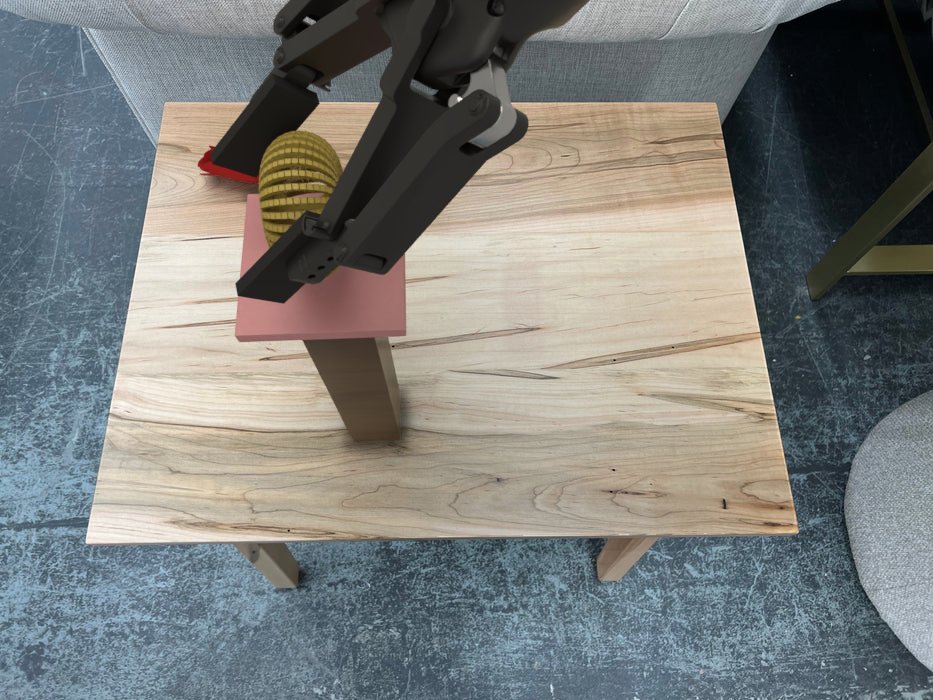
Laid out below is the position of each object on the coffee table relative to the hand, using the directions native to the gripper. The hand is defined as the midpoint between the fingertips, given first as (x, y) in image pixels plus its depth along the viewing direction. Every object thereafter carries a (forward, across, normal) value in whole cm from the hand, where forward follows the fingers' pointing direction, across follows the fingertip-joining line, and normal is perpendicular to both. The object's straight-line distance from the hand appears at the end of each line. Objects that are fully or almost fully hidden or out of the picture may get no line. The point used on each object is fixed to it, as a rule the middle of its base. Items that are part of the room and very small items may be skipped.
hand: (246, 226), depth 37 cm
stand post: (+25, 0, -29) cm, 38 cm away
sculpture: (0, 0, -5) cm, 5 cm away
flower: (+24, +30, -30) cm, 49 cm away
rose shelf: (+2, 0, -7) cm, 7 cm away
